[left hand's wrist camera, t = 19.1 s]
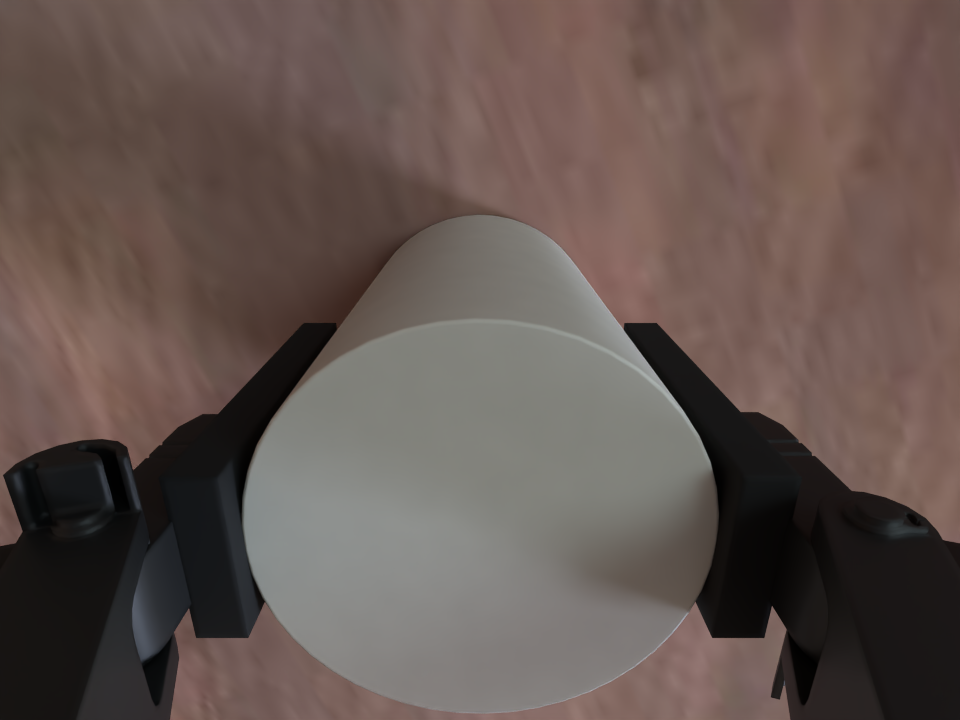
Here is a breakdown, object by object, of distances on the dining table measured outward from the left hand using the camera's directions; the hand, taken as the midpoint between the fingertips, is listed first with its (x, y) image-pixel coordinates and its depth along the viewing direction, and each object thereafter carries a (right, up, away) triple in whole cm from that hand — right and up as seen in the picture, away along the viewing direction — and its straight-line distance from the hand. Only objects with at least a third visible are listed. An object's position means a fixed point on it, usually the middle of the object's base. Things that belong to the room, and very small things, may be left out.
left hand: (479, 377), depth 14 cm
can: (0, +1, +4) cm, 4 cm away
